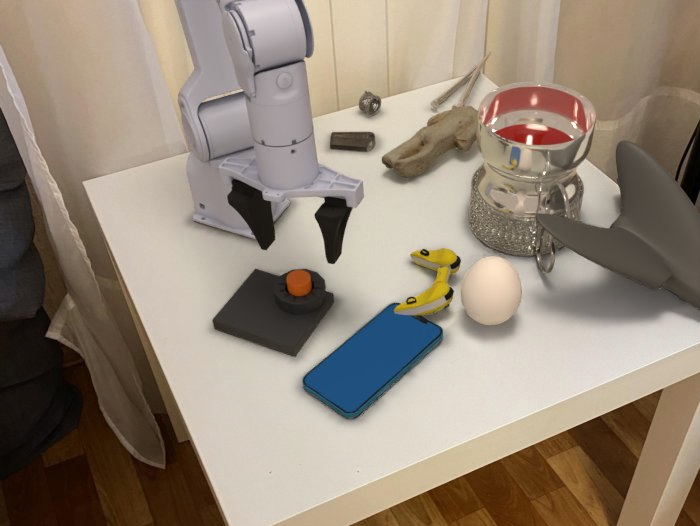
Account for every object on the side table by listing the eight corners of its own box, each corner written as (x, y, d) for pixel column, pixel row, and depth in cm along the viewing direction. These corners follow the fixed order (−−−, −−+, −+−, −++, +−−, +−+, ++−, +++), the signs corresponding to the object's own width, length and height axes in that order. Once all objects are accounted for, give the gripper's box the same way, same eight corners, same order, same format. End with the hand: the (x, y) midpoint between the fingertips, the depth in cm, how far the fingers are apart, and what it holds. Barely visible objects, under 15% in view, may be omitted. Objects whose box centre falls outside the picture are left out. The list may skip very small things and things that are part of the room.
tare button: (283, 292, 91) (281, 281, 90) (295, 277, 93) (293, 267, 91) (304, 299, 90) (303, 288, 89) (316, 284, 92) (314, 273, 91)
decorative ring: (367, 119, 117) (367, 99, 115) (358, 114, 118) (357, 94, 116) (382, 111, 119) (381, 91, 116) (372, 106, 119) (372, 86, 117)
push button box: (214, 329, 91) (209, 309, 89) (260, 273, 97) (256, 253, 95) (295, 356, 89) (292, 336, 86) (337, 297, 94) (335, 277, 92)
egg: (447, 320, 91) (450, 264, 85) (482, 289, 94) (487, 233, 88) (495, 347, 89) (501, 292, 83) (529, 314, 92) (538, 259, 86)
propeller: (756, 307, 100) (815, 254, 95) (697, 378, 81) (766, 318, 76) (615, 178, 104) (663, 120, 99) (527, 217, 85) (581, 148, 80)
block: (333, 141, 115) (331, 128, 114) (376, 139, 115) (375, 126, 114) (330, 153, 113) (328, 141, 111) (374, 151, 112) (373, 138, 111)
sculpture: (413, 199, 107) (494, 143, 112) (410, 168, 103) (494, 111, 109) (375, 177, 110) (456, 124, 116) (371, 146, 107) (454, 93, 112)
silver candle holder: (528, 175, 108) (542, 68, 97) (630, 250, 98) (658, 141, 87) (447, 212, 103) (452, 104, 92) (545, 295, 94) (564, 185, 83)
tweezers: (428, 99, 117) (428, 112, 118) (460, 106, 116) (459, 119, 117) (476, 40, 127) (475, 53, 128) (505, 46, 125) (505, 58, 127)
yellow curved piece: (371, 306, 97) (417, 339, 90) (359, 283, 95) (406, 315, 88) (438, 256, 99) (489, 285, 92) (428, 233, 97) (479, 261, 90)
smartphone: (297, 380, 85) (394, 299, 92) (298, 386, 86) (394, 305, 93) (351, 417, 82) (447, 330, 89) (351, 423, 83) (447, 336, 90)
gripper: (192, 141, 77) (220, 260, 87) (337, 165, 73) (350, 288, 83) (229, 105, 82) (252, 222, 91) (368, 126, 78) (377, 246, 87)
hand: (301, 251), depth 87 cm, fingers open, 7 cm apart
